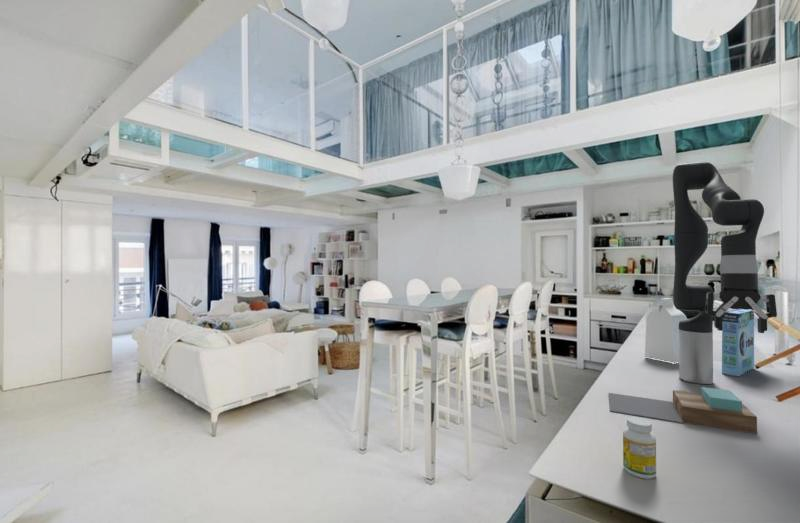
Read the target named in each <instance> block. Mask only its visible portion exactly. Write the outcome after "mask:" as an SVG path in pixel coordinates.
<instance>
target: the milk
mask: <svg viewBox="0 0 800 523" xmlns="http://www.w3.org/2000/svg"><path fill="white" fill-rule="evenodd" d="M686 319H688V318H687V315H686V314H685V313H684V312H683V311H682V310H678V309H676V308H675V306H674V302H673V298H671V297H669V298H668V297H665V298H660V302H659V305H657V306H656V307H655V308H654V309H652V310H651V311H650V312H648V313H647V315H646V318H645V341H644V343H645V344H644V358H645V357H649V358H655V359H660V360H664V361H670V362H674V363H675V362H679V322H680V321H682V320H686Z"/></svg>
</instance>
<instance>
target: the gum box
mask: <svg viewBox="0 0 800 523" xmlns="http://www.w3.org/2000/svg"><path fill="white" fill-rule="evenodd" d="M721 317H722V326H723V330H722V331H721V374H723V375H727V376H731V375H733V376H732V377H736V376H739V377H740V376H742V375H744V374H746V373H748V372H750V371H752V370H754V369H755V313H754V312H753V311H752V310H751V309H748V310H745V309H732V310H727V311H725V312H724V313H723V314H722V315H721ZM753 368H754V369H753ZM751 369H752V370H751ZM749 370H750V371H749ZM747 371H748V372H747ZM745 372H746V373H745Z"/></svg>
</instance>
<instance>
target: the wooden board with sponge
mask: <svg viewBox="0 0 800 523" xmlns="http://www.w3.org/2000/svg"><path fill="white" fill-rule="evenodd" d="M672 402H673V404H674V406H675V408H676V409H677V411H678V413H679V415H680V416H681V418H682V420H683V422H684V423H686V424H693V425H700V426H704V427H710V428H717V429H723V430H729V431H737V432H742V433H746V434H747V433H749V434H753V435H757V434H758V417H757V415H755V414H754V413H753V412H752V411H751V410H750V409H749V408H748V407H747V406H745V405H744V403H742V412H740V411H733V410H726V409H719V408H712V407H710V406H709V405H708V404H707V402H706V401H705V400H704V399H703V397H702V394H701V393H700V392H691V391H683V390H675V389H672Z"/></svg>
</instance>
